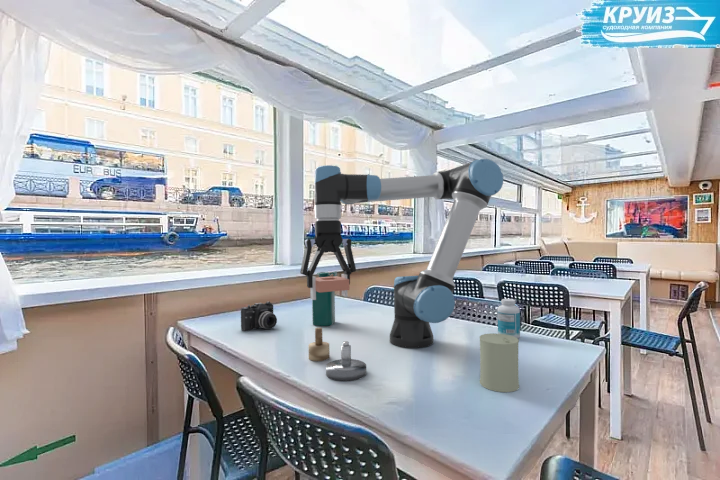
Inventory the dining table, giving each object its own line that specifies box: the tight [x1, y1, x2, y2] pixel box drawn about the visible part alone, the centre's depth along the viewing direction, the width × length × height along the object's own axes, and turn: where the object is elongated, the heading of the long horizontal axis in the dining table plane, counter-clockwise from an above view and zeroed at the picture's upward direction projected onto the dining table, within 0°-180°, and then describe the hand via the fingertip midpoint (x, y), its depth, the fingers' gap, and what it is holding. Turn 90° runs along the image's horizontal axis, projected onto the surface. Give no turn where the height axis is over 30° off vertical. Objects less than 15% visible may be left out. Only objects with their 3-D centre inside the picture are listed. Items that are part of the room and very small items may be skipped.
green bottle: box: [311, 271, 338, 327], centre depth 155 cm, size 10×8×22 cm
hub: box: [325, 341, 367, 382], centre depth 100 cm, size 11×11×8 cm
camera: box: [240, 301, 278, 332], centre depth 149 cm, size 14×11×10 cm
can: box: [479, 333, 520, 393], centre depth 91 cm, size 9×9×12 cm
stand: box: [307, 327, 331, 362], centre depth 112 cm, size 6×6×9 cm
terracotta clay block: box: [316, 275, 350, 292], centre depth 106 cm, size 9×9×3 cm
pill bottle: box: [497, 298, 521, 340], centre depth 131 cm, size 8×7×14 cm
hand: (329, 297), depth 106 cm, fingers closed on terracotta clay block, 9 cm apart
